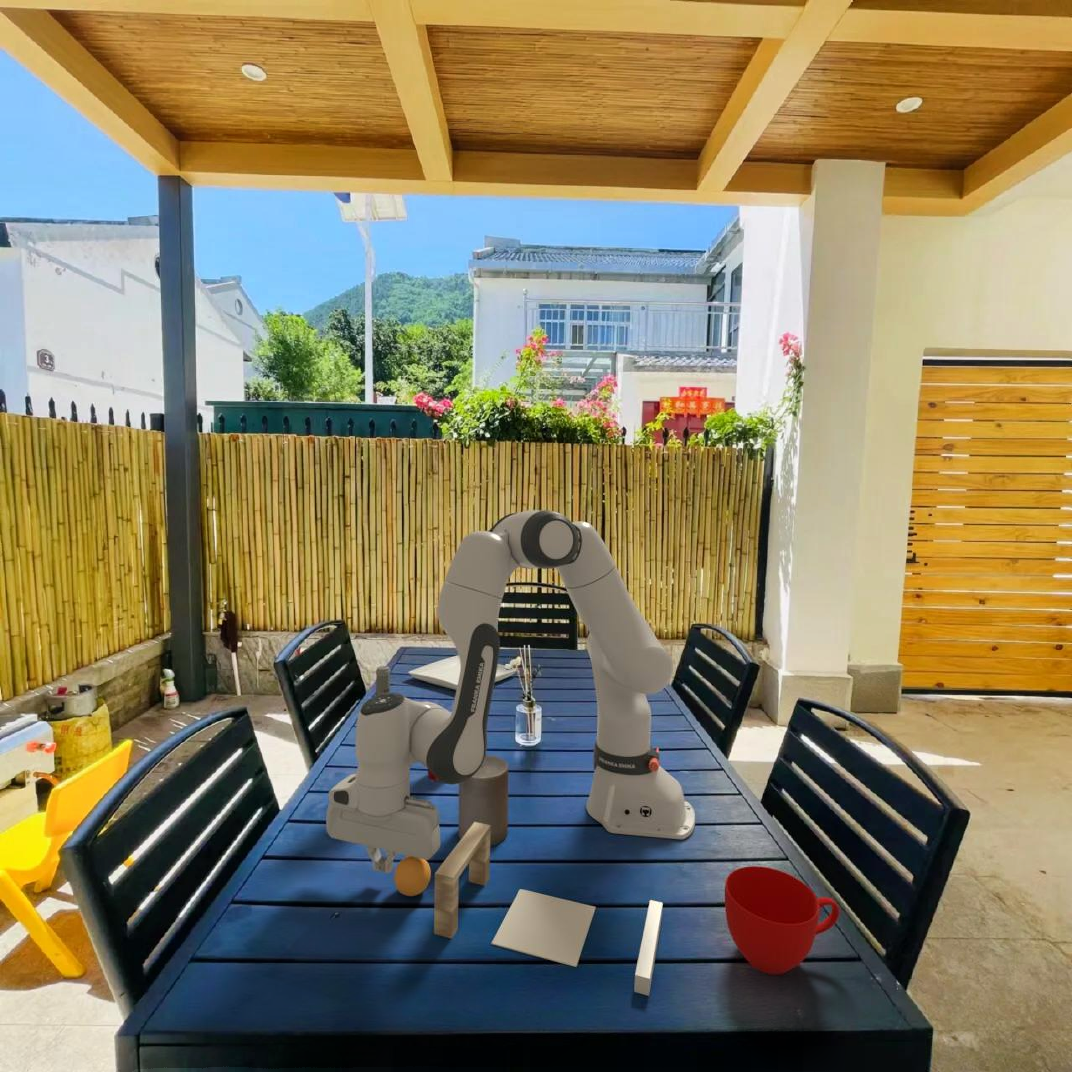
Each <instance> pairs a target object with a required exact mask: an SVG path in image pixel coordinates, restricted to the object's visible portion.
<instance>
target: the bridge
mask: <svg viewBox="0 0 1072 1072" xmlns="http://www.w3.org/2000/svg"><path fill="white" fill-rule="evenodd" d="M490 832H491V825H487V824H482V823H477V822H474V823H473V825H472V826H471V827H470V828H469V830H468V831H467V832H466V834H465V835H464V836H463V838H462V839H460V840H459V842H458V843H457V844H456V845H455V847H454V848H453V849H452V851H451V852H450V853H449V854H448V856H447V857H446V858H445V860H444V861H443V862H442V863H441V865H440V866H439V867H438V869H437V870H436V871H435V873H434V906H433V907H434V908H433V909H434V913H433V915H434V917H433V934H434V935H436V936H441V937H445V938H449V939H453V938H454V936H455V935H456V934H457V931H458V930H459V929H458V927H459V879H460V877H461V875H462V874H463V872H464V870H465V869H466V867H467V866H468V882H469V883H473V884H476V885H477V884H478V885H481V886H486V885H487V883H488V881H489V880H490V868H491V867H490V866H491V861H490V860H491V846H490Z"/></svg>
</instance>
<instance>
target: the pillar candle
mask: <svg viewBox="0 0 1072 1072" xmlns="http://www.w3.org/2000/svg"><path fill="white" fill-rule="evenodd" d="M508 815H509V763H508V762H507V761H506V760H505V759H503V758H501V757H498V756H496V755H489V754H488V755H487V754H486V756H485V759H484V762H483V764H482V765H481V767H480V769H479V770H478V771H477V772H476V773H475V774H474V775H473V776H472V777H470V778H469V779H467V780H465V781H463V782H461V783H458V837H459V839H460V840H461V839H462V838H463V836H464V835H465V834H466V832H467V831H468V830H469V828H470V827H471V826H472V825H473V823H474V822H477V823H482V824H487V825H491V832H490V847H491V846H494V845H497V844H499V843H500V842H502V841H503V840H504V839H505V838H506V837H507V836H508V834H509V833H508V832H509V831H508V828H509V827H508V824H509V816H508Z"/></svg>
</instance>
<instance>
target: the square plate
mask: <svg viewBox="0 0 1072 1072" xmlns="http://www.w3.org/2000/svg"><path fill="white" fill-rule="evenodd" d="M511 668H512V669H509V670H506V669H505V665H503V664H500V663H498V666H497V672H496V677H495V683H497V682H500V681H502V680H504V679H507V678H509V677H511V676H513V675H514V674H515V673H517V671H518V669H517V668H515V667H511ZM460 669H461V663H460V657H459V654H457V655H455V656H451V657H447V658H444V659H441V660H437V661H435V662H432V663H428V664H425V665H424V666H423V665H422V666H420V667H417V668H415V669H412V670H409V671H407V673H408V674H409V675H410V676H411V677H413V678H414V679H417V680H420V681H423V682H426V683H429V684H432V685H436V686H439V687H444V688H447V689H451V690H454V691H457V686H458V681H459V676H460ZM516 669H517V670H516Z"/></svg>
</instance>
